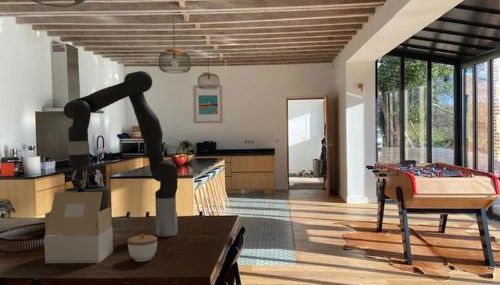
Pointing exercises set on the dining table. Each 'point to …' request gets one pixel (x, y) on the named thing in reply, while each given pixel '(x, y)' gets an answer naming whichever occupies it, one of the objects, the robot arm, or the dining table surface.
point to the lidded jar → (142, 247)
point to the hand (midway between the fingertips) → (81, 197)
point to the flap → (74, 213)
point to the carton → (81, 243)
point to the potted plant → (103, 189)
